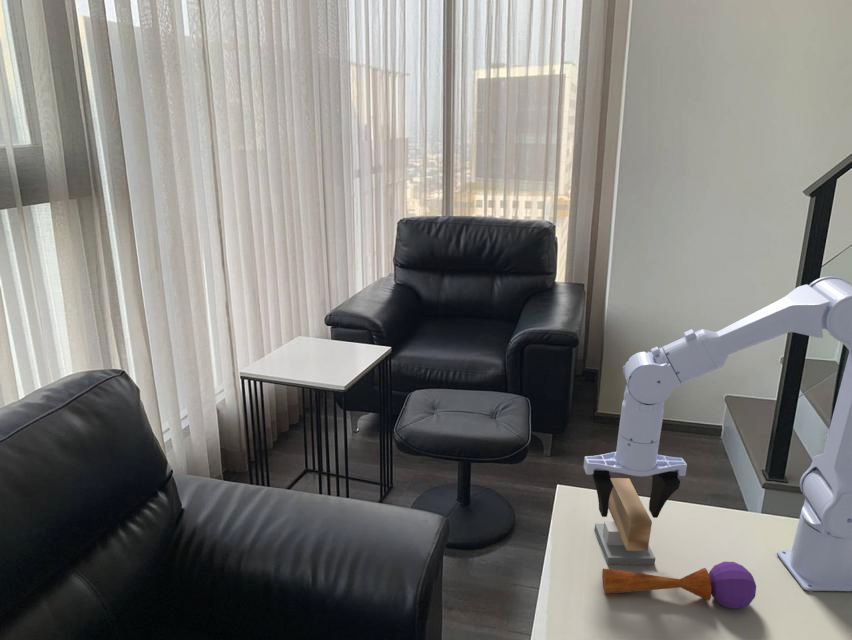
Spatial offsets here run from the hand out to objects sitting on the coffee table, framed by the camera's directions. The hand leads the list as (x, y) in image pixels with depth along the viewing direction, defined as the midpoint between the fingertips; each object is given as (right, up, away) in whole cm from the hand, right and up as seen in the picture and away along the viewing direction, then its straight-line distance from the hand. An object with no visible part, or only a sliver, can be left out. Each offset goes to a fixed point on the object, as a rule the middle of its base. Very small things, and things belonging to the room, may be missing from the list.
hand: (628, 513), depth 96 cm
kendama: (+4, -10, -7) cm, 13 cm away
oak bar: (0, -2, +1) cm, 2 cm away
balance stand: (0, -6, +2) cm, 6 cm away
